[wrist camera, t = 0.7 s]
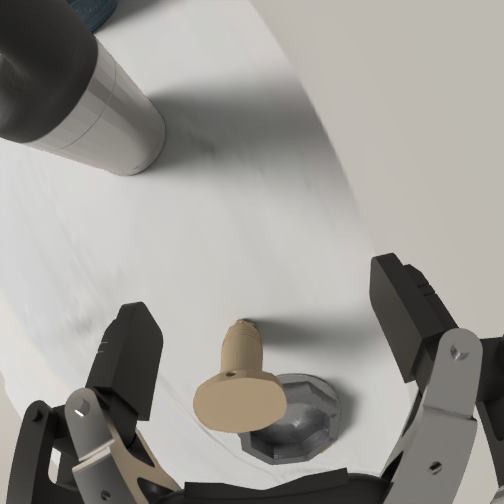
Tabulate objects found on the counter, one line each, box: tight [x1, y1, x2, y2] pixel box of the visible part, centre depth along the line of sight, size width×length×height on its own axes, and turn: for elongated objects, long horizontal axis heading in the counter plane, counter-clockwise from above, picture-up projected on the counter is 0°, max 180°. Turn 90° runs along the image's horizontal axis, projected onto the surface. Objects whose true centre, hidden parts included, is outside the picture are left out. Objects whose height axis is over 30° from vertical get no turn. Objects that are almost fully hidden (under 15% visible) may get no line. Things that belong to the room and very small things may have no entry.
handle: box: [193, 319, 287, 433], centre depth 25 cm, size 5×6×15 cm
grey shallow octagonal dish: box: [237, 374, 340, 465], centre depth 32 cm, size 15×14×4 cm
